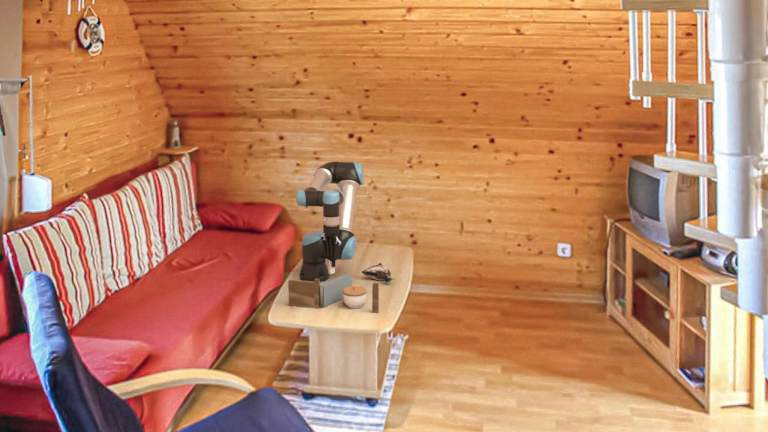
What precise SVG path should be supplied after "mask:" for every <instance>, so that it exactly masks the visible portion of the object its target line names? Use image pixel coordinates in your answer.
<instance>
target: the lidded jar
mask: <svg viewBox="0 0 768 432" xmlns="http://www.w3.org/2000/svg"><path fill="white" fill-rule="evenodd" d="M366 298H367V289H366V288H365V287H363V286H359V285H351V286H349V287H346V288H344V289H343V298H342V299H343V301H344V304H345V305H346V306H347V307H348V308H350V309H355V310H356V309H360V308H361V307H362V306H363V305H364V304H365V302H366Z"/></svg>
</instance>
